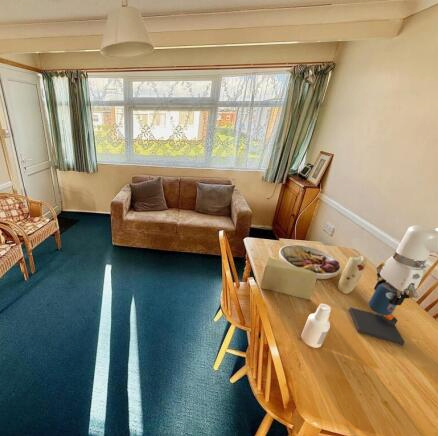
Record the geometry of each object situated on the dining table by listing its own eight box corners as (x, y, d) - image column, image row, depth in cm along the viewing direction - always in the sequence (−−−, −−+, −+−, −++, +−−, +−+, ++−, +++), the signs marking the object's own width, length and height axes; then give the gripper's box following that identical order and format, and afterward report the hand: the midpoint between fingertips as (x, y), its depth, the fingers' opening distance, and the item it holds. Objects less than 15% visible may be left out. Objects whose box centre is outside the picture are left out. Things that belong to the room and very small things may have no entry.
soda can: (389, 319, 87) (403, 296, 82) (365, 309, 92) (378, 286, 87) (392, 311, 91) (406, 287, 86) (369, 300, 96) (381, 278, 91)
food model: (351, 298, 111) (367, 264, 103) (334, 291, 116) (349, 258, 107) (354, 288, 117) (370, 256, 109) (338, 282, 122) (352, 250, 113)
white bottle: (324, 349, 87) (341, 315, 80) (305, 346, 88) (319, 313, 81) (316, 334, 93) (330, 301, 86) (297, 331, 94) (310, 299, 87)
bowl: (275, 270, 131) (278, 259, 128) (279, 246, 154) (282, 236, 151) (340, 289, 117) (346, 277, 113) (334, 260, 140) (338, 249, 136)
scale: (390, 320, 99) (393, 314, 98) (405, 346, 88) (410, 340, 87) (347, 308, 105) (350, 303, 104) (357, 332, 94) (360, 326, 93)
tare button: (390, 316, 98) (392, 313, 97) (393, 321, 95) (395, 318, 95) (381, 314, 99) (383, 311, 98) (384, 318, 96) (386, 316, 96)
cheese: (309, 293, 115) (319, 269, 108) (310, 305, 107) (320, 280, 101) (261, 278, 125) (267, 255, 119) (259, 288, 118) (265, 264, 111)
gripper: (446, 275, 73) (418, 315, 81) (398, 246, 89) (378, 282, 96) (420, 274, 74) (395, 313, 81) (377, 245, 89) (359, 281, 97)
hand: (386, 296), depth 89 cm, fingers closed on soda can, 7 cm apart
